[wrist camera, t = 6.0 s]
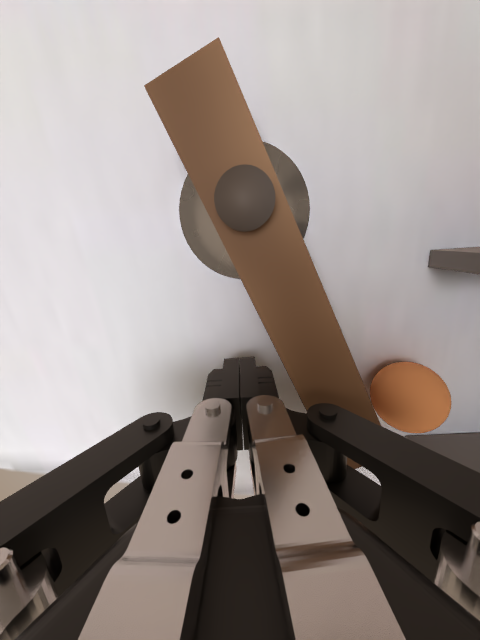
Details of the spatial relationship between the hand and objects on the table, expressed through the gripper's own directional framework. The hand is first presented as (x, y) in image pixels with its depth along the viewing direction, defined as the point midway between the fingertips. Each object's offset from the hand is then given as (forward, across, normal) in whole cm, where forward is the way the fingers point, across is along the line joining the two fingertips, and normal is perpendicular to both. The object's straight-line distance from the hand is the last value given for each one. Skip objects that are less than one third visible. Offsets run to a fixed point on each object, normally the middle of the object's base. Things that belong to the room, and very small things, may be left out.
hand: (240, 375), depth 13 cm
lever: (+1, -2, -4) cm, 5 cm away
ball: (-2, -7, +2) cm, 8 cm away
